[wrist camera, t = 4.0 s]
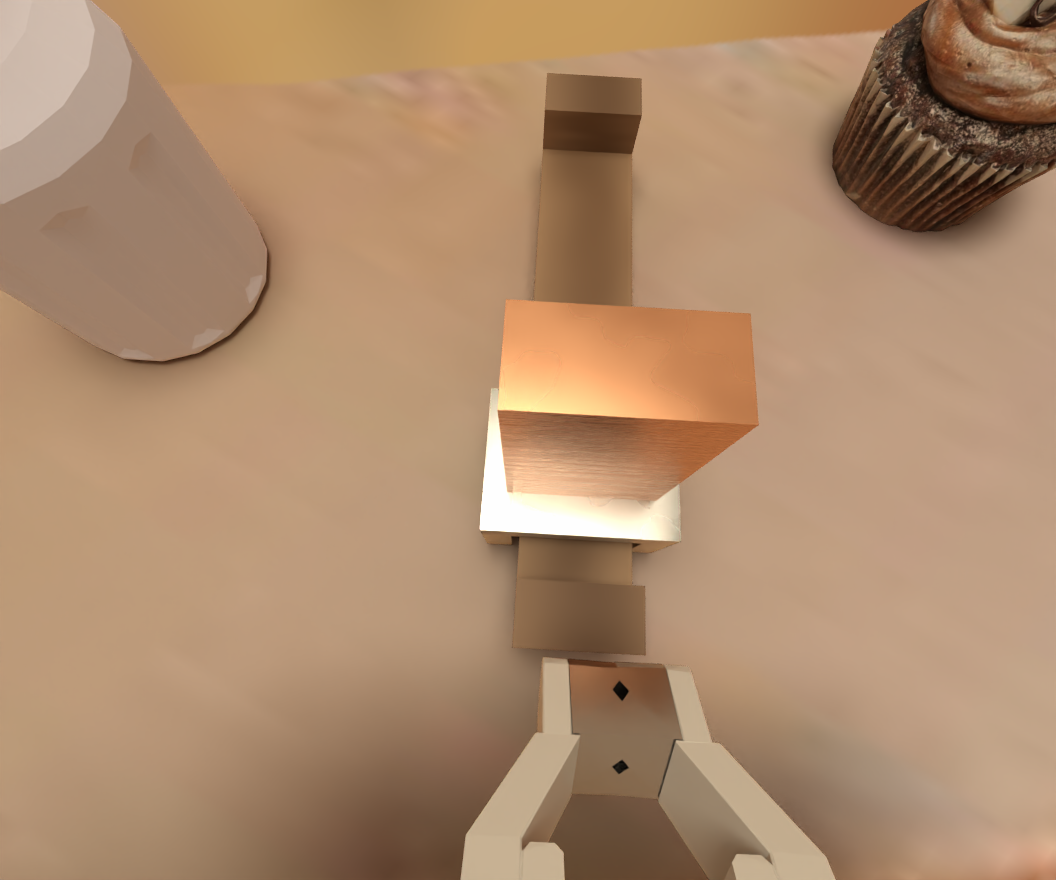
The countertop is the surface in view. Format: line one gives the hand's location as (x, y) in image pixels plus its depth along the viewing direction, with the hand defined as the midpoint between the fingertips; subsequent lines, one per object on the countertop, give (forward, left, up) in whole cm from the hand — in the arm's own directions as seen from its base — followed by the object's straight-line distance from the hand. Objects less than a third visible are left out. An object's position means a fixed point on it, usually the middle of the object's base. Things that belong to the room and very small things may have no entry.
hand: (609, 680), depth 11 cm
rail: (0, +11, -10) cm, 15 cm away
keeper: (0, +6, -10) cm, 12 cm away
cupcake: (+17, +24, -10) cm, 31 cm away
